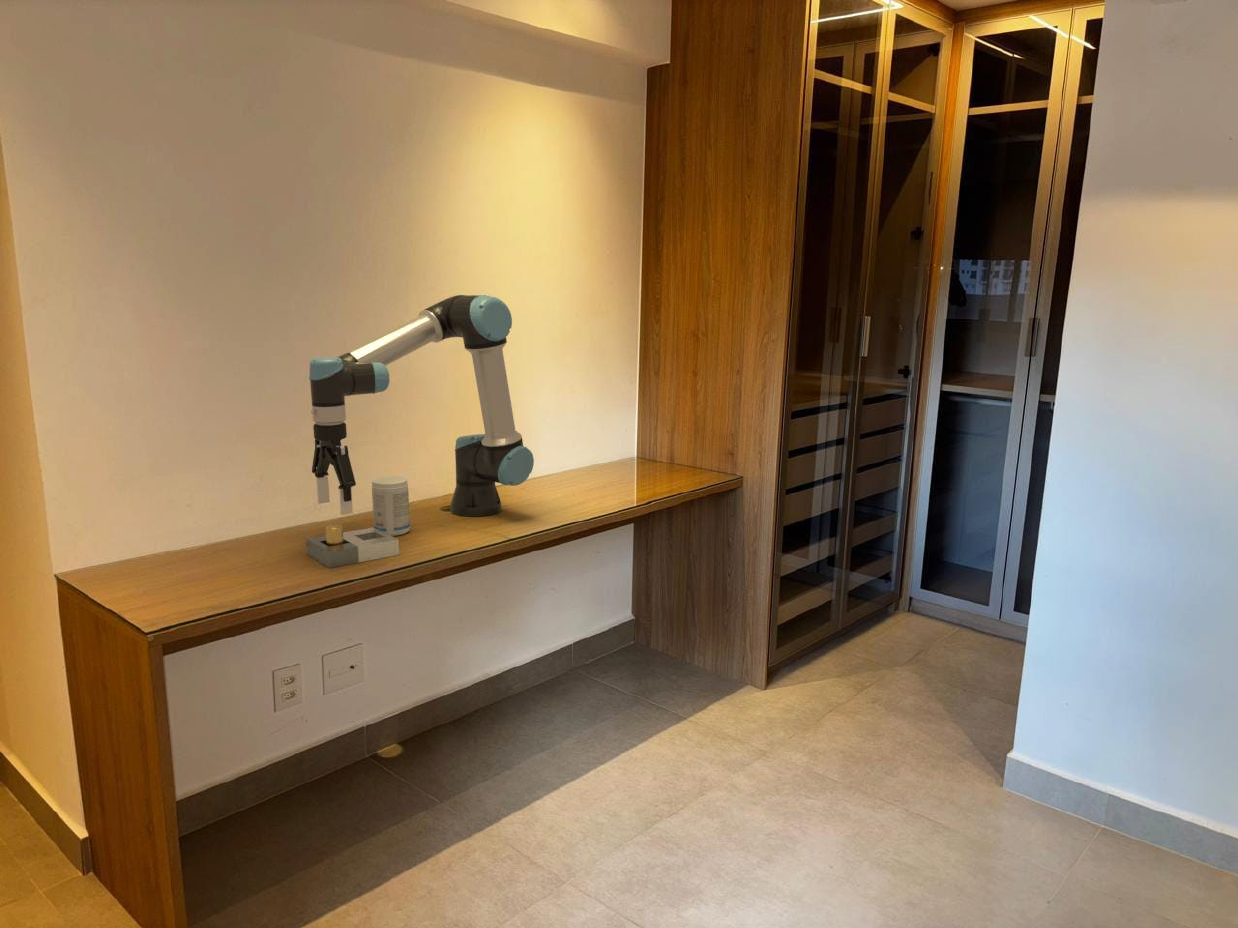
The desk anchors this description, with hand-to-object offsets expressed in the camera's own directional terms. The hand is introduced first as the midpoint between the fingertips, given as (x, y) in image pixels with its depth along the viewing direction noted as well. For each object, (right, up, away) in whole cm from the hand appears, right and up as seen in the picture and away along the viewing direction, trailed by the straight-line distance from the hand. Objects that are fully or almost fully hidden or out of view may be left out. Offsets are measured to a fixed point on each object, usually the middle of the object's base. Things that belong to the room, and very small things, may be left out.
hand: (335, 508), depth 219 cm
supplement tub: (+7, -8, +26) cm, 28 cm away
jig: (+3, -12, +5) cm, 13 cm away
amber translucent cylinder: (-1, -12, +2) cm, 13 cm away
